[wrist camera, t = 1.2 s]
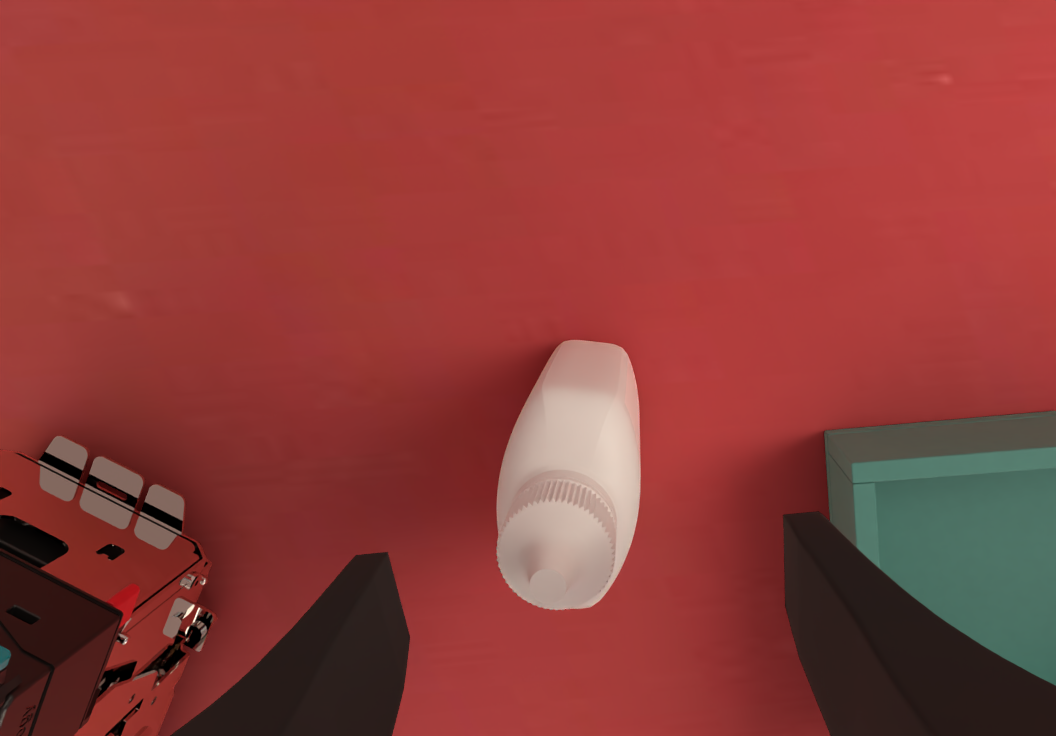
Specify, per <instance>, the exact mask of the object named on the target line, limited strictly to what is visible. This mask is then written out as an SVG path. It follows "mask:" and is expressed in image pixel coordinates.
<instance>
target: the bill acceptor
mask: <svg viewBox="0 0 1056 736" xmlns="http://www.w3.org/2000/svg"><path fill="white" fill-rule="evenodd" d="M89 457H90V452H89V450H88V448H87V447H86V446H84V445H82V444H80V443H78V442H76V441H74V440H72V439H70V438H68V437H66V436H64V435H60V436H57V437H55V438H54V439H53V441H52V442H51V444H50V445H49V446H48V448H47V449H46V451H45V452H44V454H43V455H42V457H41V458H40V459H39V461H38V460H36V459H34V458H32V457H30V456H28V455H26V454H24V453H22V452H18V451H8V450H0V736H157V735H158V733H159V730H160V728H161V725H162V723H163V720H164V718H165V715H166V713H167V710H168V708H169V705H170V703H171V700H172V698H173V695H174V693H175V690H174V689H173V687H174V686H175V684H176V683H177V682H178V681H179V679H180V678H181V675H182V673H183V670H184V668H185V665H186V663H187V660H188V658H189V655H190V653H189V652H188V651H186V650H184V649H183V647H182V646H183V644H184V645H186V646H188V647H190V648H192V649H194V650H196V651H198V652H200V651H201V650H202V649H203V647H204V645H205V641H206V639H207V636H208V634H209V631H210V629H211V627H212V625H213V623H214V622H215V621H216V620H217V615H216V613H214V612H213V611H211V610H209V609H207V608H205V607H203V606H201V605H199V604H197V603H196V602H197V600H198V598H199V595H200V593H201V590H202V588H203V585H205V584H207V582H208V577H207V575H208V573H209V570H210V568H211V565H212V563H211V562H210V561H208V560H207V558H206V556H205V554H204V551H203V549H202V547H201V544H200V543H199V542H198V541H196V540H194V539H192V538H190V537H188V536H186V535H184V534H183V532H184V521H185V510H186V499H185V497H184V496H183V495H181V494H179V493H177V492H175V491H173V490H171V489H169V488H167V487H166V486H164V485H162V484H154V485H152V486H151V487H150V488H149V491H148V493H147V496H146V499H145V501H144V504H143V507H142V510H141V512H139V511H137V510H136V507H137V504H138V502H139V499H140V496H141V494H142V491H143V488H144V485H145V479H144V477H143V476H142V475H141V474H140V473H138V472H136V471H134V470H132V469H130V468H128V467H126V466H124V465H122V464H120V463H118V462H116V461H114V460H112V459H110V458H108V457H106V456H99V457H97V458H95V459H94V461H93V464H92V467H91V470H90V473H89V476H88V478H87V481H86V484H84V483H82V482H81V480H82V477H83V474H84V471H85V468H86V465H87V463H88V460H89ZM99 481H100V482H102V483H104V484H106V485H108V486H110V487H112V488H114V489H116V490H118V491H120V492H122V493H124V494H126V495H127V499H124V498H122V497H120V496H118V495H116V494H114V493H112V492H110V491H108V490H106V489H104V488H102V487H100V486H99Z"/></svg>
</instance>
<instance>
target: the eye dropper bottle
mask: <svg viewBox="0 0 1056 736" xmlns="http://www.w3.org/2000/svg"><path fill="white" fill-rule="evenodd" d="M640 481H641V471H640V419H639V399H638V391H637V384H636V380H635V375H634V371H633V368H632V364H631V362H630V359H629V357H628V354H627V353H626V352H625V351H624V349H623V348H622V347H620V346H617V345H615V344H610V343H603V342H594V341H584V340H568V341H563V342H562V343H561V344H560V345H559V346H557V347H556V349H555V350H554V352H553V353H552V355H551V357H550V358H549V360H548V362H547V364H546V365H545V367H544V369H543V371H542V373H541V375H540V376H539V378H538V380H537V382H536V384H535V386H534V388H533V389H532V391H531V393H530V395H529V397H528V399H527V401H526V403H525V405H524V407H523V409H522V411H521V413H520V415H519V417H518V419H517V421H516V424H515V426H514V428H513V431H512V433H511V436H510V439H509V442H508V445H507V448H506V451H505V454H504V458H503V462H502V466H501V471H500V476H499V483H498V491H497V526H498V535H499V536H498V541H497V547H496V549H497V553H496V555H497V557H498V558H497V561H498V563H499V564H498V567H499V568H500V572H501V573H502V574H503V576H502V577H503V578H504V579H505V580H506V581H505V582H506V583H507V584H509V587H510V588H512V589H513V592H515V593H517V596H520V597H522V599H523V600H526V601H527V603H532V605H537V606H538V607H543V608H544V609H547V608H548V609H550V610H553V609H555V610H559V609H561V610H564V609H570V608H574V609H582V608H588V607H591V606H593V605H594V604H596V603H597V602H599V601H600V600H601V599H602V598H603V596H604V595H605V594H606V593H607V591H608V590H609V588H610V587H611V585H612V584H613V582H614V581H615V579H616V577H617V575H618V573H619V572H620V570H621V568H622V565H623V563H624V561H625V559H626V556H627V554H628V551H629V549H630V546H631V542H632V539H633V536H634V532H635V527H636V523H637V517H638V511H639V501H640Z"/></svg>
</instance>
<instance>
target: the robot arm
mask: <svg viewBox="0 0 1056 736" xmlns="http://www.w3.org/2000/svg"><path fill="white" fill-rule="evenodd" d="M783 527H784V572H785V607H786V610H787V614H788V618H789V622H790V626H791V630H792V633H793V637H794V641H795V644H796V648H797V651H798V655H799V658H800V661H801V663H802V666H803V668H804V671H805V673H806V676H807V678H808V681H809V683H810V686H811V688H812V691H813V693H814V696H815V698H816V701H817V703H818V706H819V708H820V711H821V713H822V715H823V718H824V720H825V723H826V725H827V728H828V730H829V733H830V735H831V736H1056V685H1054V684H1052V683H1050V682H1048V681H1046V680H1044V679H1042V678H1040V677H1038V676H1036V675H1034V674H1032V673H1030V672H1028V671H1027V670H1025V669H1023V668H1021V667H1019V666H1017V665H1016V664H1014V663H1012V662H1010V661H1008V660H1006V659H1005V658H1003V657H1001V656H999V655H998V654H996V653H994V652H993V651H991V650H989V649H988V648H986V647H984V646H983V645H981V644H979V643H978V642H976V641H975V640H973V639H972V638H970V637H969V636H967V635H966V634H964V633H962V632H961V631H959V630H958V629H956V628H955V627H953V626H952V625H950V624H949V623H947V622H946V621H944V620H943V619H942V618H940V617H939V616H937V615H936V614H935V613H933V612H932V611H931V610H929V609H928V608H927V607H926V606H924V605H923V604H922V603H920V602H919V601H918V600H916V599H915V598H914V597H913V596H911V595H910V594H909V593H908V592H907V591H905V590H904V589H903V588H902V587H900V586H899V585H898V584H897V583H896V582H895V581H893V580H892V579H891V578H890V577H889V576H888V575H887V574H885V573H884V572H883V571H882V570H881V569H880V568H878V567H877V566H876V565H875V564H874V563H873V562H872V561H871V560H869V559H868V558H867V557H866V556H865V555H864V554H863V553H862V552H861V551H860V550H859V549H858V548H857V547H856V546H854V545H853V544H852V543H851V542H850V541H849V540H848V539H847V538H846V537H845V536H844V535H843V534H842V533H841V532H840V531H839V530H838V529H837V528H836V527H835V526H834V525H833V524H832V523H831V522H830V521H829V520H828V519H827V518H826V517H825V516H824V515H822V514H821V513H820V512H819V511H817V512H807V513H796V514H785V515H783ZM409 642H410V635H409V631H408V628H407V624H406V620H405V616H404V612H403V609H402V605H401V601H400V597H399V593H398V590H397V586H396V582H395V578H394V574H393V571H392V567H391V563H390V559H389V555H388V552H383V553H373V554H362V555H356V556H355V557H354V558H353V559H352V560H351V561H350V562H349V563H348V565H347V566H346V567H345V568H344V569H343V570H342V572H341V573H340V574H339V575H338V576H337V577H336V579H335V580H334V581H333V582H332V583H331V584H330V586H329V587H328V588H327V589H326V590H325V591H324V593H323V594H322V595H321V596H320V597H319V598H318V600H317V601H316V602H315V603H314V604H313V605H312V607H311V608H310V609H309V610H308V611H307V612H306V613H305V614H304V616H303V617H302V618H301V619H300V620H299V621H298V622H297V623H296V625H295V626H294V627H293V628H292V629H291V630H290V631H289V632H288V633H287V634H286V635H285V636H284V637H283V638H282V639H281V640H280V641H279V642H278V643H277V644H276V645H275V646H274V647H273V648H272V650H271V651H270V652H269V653H268V654H267V655H266V656H265V657H264V658H263V659H262V660H261V661H260V662H259V663H258V664H257V665H256V666H255V667H254V668H253V669H252V670H250V671H249V672H248V673H247V674H246V675H245V676H244V677H243V678H242V679H241V680H240V681H239V682H237V683H236V684H235V685H234V686H233V687H232V688H230V689H229V690H228V691H227V692H226V693H225V694H223V695H222V696H221V697H220V698H219V699H218V700H216V701H215V702H214V703H213V704H212V705H210V706H209V707H208V708H207V709H205V710H204V711H203V712H201V713H200V714H199V715H197V716H196V717H195V718H193V719H192V720H191V721H189V722H188V723H187V724H185V725H184V726H183V727H181V728H180V729H179V730H177V731H176V732H175V733H173V734H172V735H171V736H392V733H393V729H394V726H395V722H396V718H397V714H398V710H399V706H400V702H401V698H402V694H403V689H404V683H405V676H406V668H407V660H408V651H409Z"/></svg>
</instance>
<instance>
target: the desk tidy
mask: <svg viewBox="0 0 1056 736" xmlns="http://www.w3.org/2000/svg"><path fill="white" fill-rule="evenodd" d="M824 439H825V454H826V469H827V484H828V499H829V514H830V522H831V523H832V524H833V525H834V526H835V527H836V528H837V529H838V530H839V531H840V532H841V533H842V534H843V535H844V536H845V537H846V538H847V539H848V540H849V541H850V542H851V543H852V544H853V545H854V546H856V547H857V548H858V549H859V550H860V551H861V552H862V553H863V554H864V555H865V556H866V557H867V558H868V559H869V560H871V561H872V562H873V563H874V564H875V565H876V566H877V567H878V568H880V569H881V570H882V571H883V572H884V573H885V574H887V575H888V576H889V577H890V578H891V579H892V580H893V581H895V582H896V583H897V584H898V585H899V586H900V587H902V588H903V589H904V590H905V591H907V592H908V593H909V594H910V595H911V596H913V597H914V598H915V599H916V600H918V601H919V602H920V603H922V604H923V605H924V606H926V607H927V608H928V609H929V610H931V611H932V612H933V613H935V614H936V615H937V616H939V617H940V618H942V619H943V620H944V621H946V622H947V623H949V624H950V625H952V626H953V627H955V628H956V629H958V630H959V631H961V632H962V633H964V634H966V635H967V636H969V637H970V638H972V639H973V640H975V641H976V642H978V643H979V644H981V645H983V646H984V647H986V648H988V649H989V650H991V651H993V652H994V653H996V654H998V655H999V656H1001V657H1003V658H1005V659H1006V660H1008V661H1010V662H1012V663H1014V664H1016V665H1017V666H1019V667H1021V668H1023V669H1025V670H1027V671H1028V672H1030V673H1032V674H1034V675H1036V676H1038V677H1040V678H1042V679H1044V680H1046V681H1048V682H1050V683H1052V684H1054V685H1056V411H1046V412H1034V413H1023V414H1011V415H1000V416H988V417H976V418H965V419H953V420H942V421H930V422H918V423H907V424H895V425H884V426H872V427H860V428H849V429H837V430H826V431H824Z"/></svg>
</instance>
